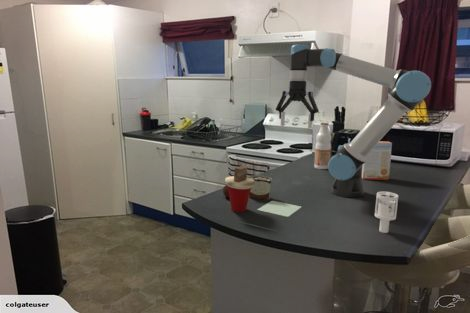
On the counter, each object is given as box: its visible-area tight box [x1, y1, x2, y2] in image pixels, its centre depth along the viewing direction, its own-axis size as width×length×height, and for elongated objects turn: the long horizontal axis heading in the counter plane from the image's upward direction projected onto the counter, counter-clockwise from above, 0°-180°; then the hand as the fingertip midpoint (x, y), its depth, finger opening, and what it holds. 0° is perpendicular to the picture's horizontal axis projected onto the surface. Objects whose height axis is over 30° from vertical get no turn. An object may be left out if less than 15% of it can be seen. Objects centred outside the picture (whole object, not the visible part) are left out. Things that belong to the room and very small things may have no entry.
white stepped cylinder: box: [374, 191, 399, 234], centre depth 129 cm, size 7×7×15 cm
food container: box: [247, 174, 274, 201], centre depth 166 cm, size 12×6×10 cm, turn 71°
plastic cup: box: [226, 184, 252, 213], centre depth 148 cm, size 11×11×12 cm
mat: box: [256, 200, 302, 218], centre depth 152 cm, size 14×14×1 cm
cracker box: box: [362, 140, 393, 181], centre depth 200 cm, size 14×6×21 cm, turn 84°
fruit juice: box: [313, 122, 332, 170], centre depth 223 cm, size 9×9×28 cm
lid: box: [224, 165, 255, 188], centre depth 146 cm, size 12×12×7 cm
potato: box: [222, 184, 230, 199], centre depth 166 cm, size 7×10×6 cm
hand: (295, 127), depth 168 cm, fingers open, 13 cm apart
